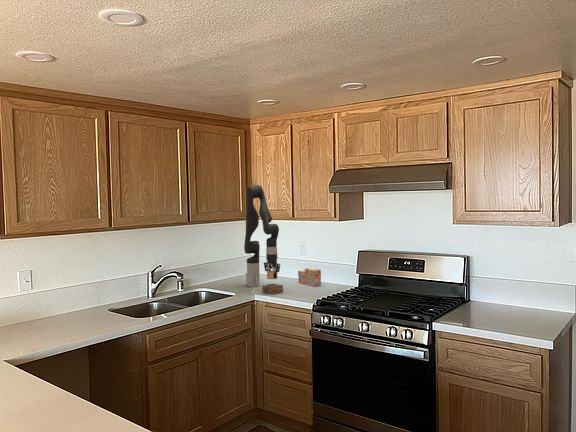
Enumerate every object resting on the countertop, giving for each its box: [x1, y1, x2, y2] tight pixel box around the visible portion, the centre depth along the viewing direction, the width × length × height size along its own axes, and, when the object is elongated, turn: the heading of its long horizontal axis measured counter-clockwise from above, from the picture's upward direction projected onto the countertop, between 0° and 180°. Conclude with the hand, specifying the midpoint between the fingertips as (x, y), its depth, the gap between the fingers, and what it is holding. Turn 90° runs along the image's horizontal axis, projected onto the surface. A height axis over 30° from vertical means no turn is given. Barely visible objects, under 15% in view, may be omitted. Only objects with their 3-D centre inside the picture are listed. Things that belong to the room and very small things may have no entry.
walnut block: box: [261, 283, 284, 296], centre depth 332 cm, size 10×10×5 cm
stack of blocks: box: [297, 267, 322, 288], centre depth 360 cm, size 21×6×12 cm, turn 31°
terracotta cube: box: [266, 270, 278, 281], centre depth 332 cm, size 5×5×5 cm
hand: (272, 278), depth 332 cm, fingers closed on terracotta cube, 5 cm apart
